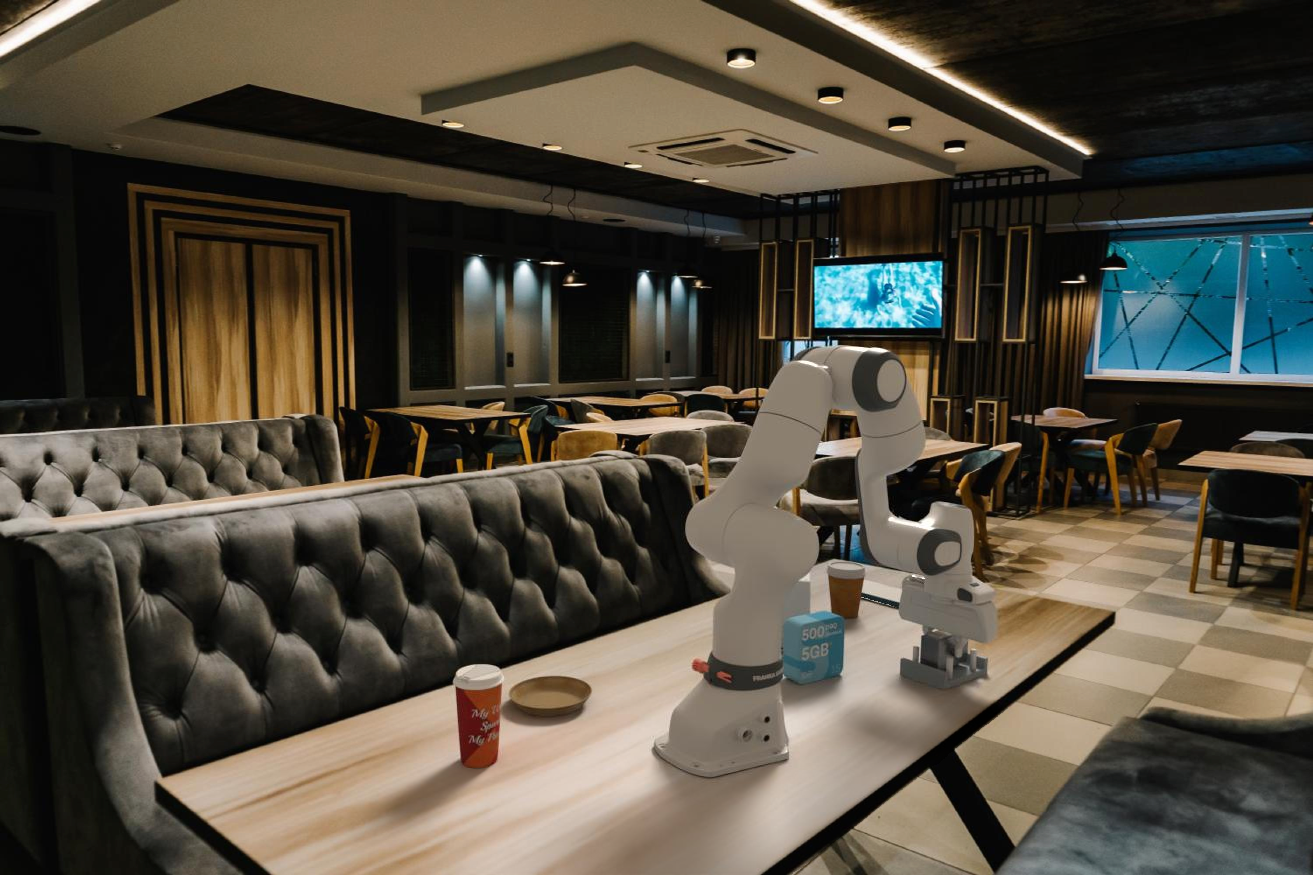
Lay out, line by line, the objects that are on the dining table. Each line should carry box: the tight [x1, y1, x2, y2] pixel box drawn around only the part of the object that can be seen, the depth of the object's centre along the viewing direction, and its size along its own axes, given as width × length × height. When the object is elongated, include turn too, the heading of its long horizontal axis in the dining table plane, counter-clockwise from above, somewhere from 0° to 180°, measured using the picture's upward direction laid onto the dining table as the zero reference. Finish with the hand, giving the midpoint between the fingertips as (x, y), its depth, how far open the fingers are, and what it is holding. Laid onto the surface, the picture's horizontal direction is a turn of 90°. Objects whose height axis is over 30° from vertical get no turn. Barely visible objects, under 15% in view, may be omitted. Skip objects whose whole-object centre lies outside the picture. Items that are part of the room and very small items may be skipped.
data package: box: [782, 610, 846, 685], centre depth 171 cm, size 12×4×12 cm, turn 122°
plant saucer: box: [508, 675, 593, 717], centre depth 157 cm, size 15×15×3 cm
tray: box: [899, 645, 989, 691], centre depth 174 cm, size 15×10×5 cm
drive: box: [919, 630, 969, 670], centre depth 174 cm, size 10×4×6 cm, turn 128°
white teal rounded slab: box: [861, 579, 902, 609], centre depth 228 cm, size 24×12×2 cm, turn 40°
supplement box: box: [781, 571, 812, 649], centre depth 191 cm, size 9×9×15 cm
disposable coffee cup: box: [825, 560, 867, 619], centre depth 212 cm, size 10×10×12 cm
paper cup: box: [452, 663, 505, 769], centre depth 135 cm, size 8×8×14 cm
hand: (944, 652), depth 174 cm, fingers closed on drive, 4 cm apart
